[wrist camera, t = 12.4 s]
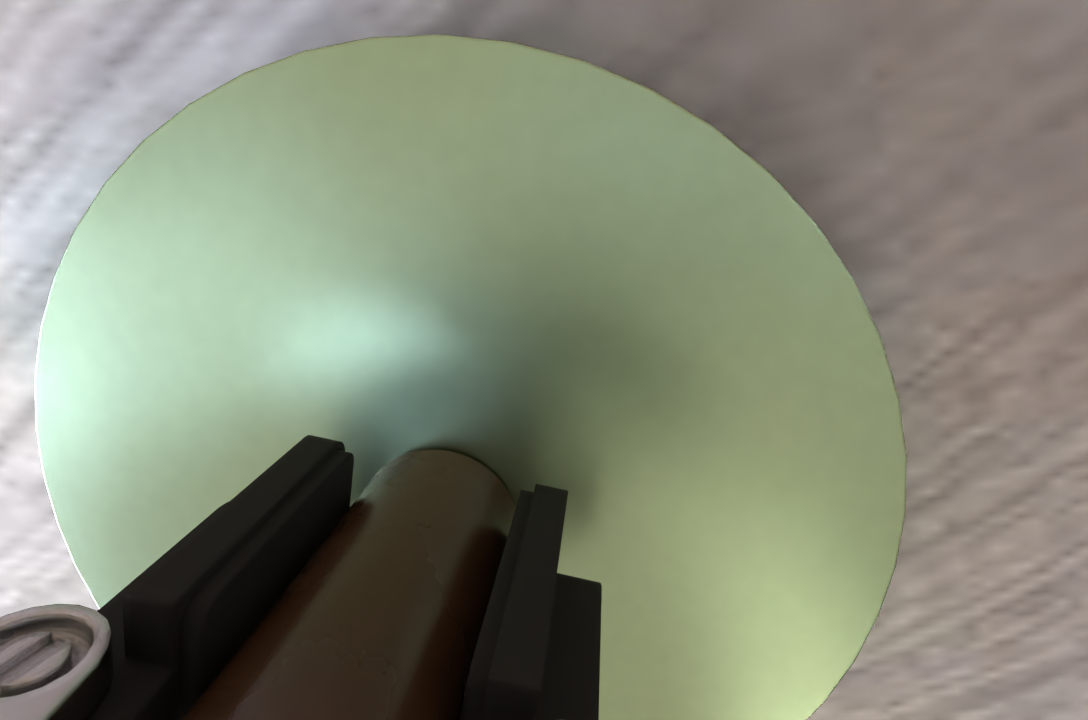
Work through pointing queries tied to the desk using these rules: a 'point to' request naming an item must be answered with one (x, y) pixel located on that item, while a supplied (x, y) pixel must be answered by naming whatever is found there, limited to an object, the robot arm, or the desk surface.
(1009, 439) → the desk surface
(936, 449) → the desk surface
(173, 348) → the pot lid
